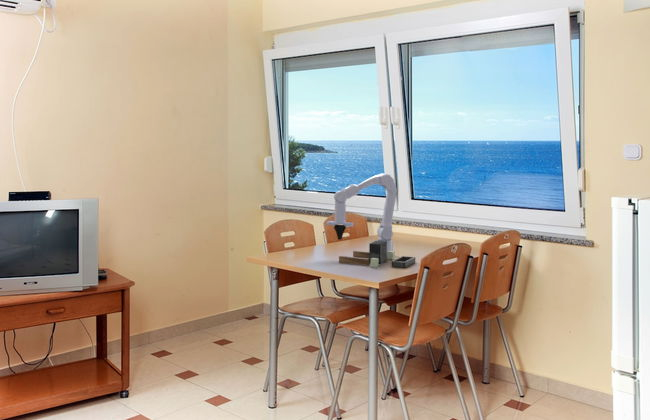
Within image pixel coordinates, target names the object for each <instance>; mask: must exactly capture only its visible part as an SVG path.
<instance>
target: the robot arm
mask: <svg viewBox="0 0 650 420" xmlns="http://www.w3.org/2000/svg"><path fill="white" fill-rule="evenodd" d="M372 185H376V186H377V185H378V186H381V187H383V189H385V191H386V195H385V196H386V197H385V203H384V207H383V214H382V220H381V222H380V224H379V228H378V229H377V232H376V233H377V235H378V238H377V241H387V252H388V251H394V242H393V240H392V237H393V235H394V233H393V224H392V222H393V216H394V211H395V204H396V198H397V193H398V189H397V186H396V183H395V179H394V178H393V176H391V175H390V174H388V173H383V172H381V173H379V174H375V175H374V176H371V177H369V178H368V179H366V180H364V181H362V182H360V183H359V184H355V183H353V184H352V183H350V184H348V186H347V187H345V188H341V189H340V190H337V191H336V192H335V193H334V195H333V199H334V220H327V221H326V225H327V226H333V229H334V230H335V233H336V236H337V240H342V239H343V235H344V232H345V231H346V229H347V227H351V228H353V227H354V222H348V221H346V217H347V216H346V215H347V214H346V210H347V209H346V208H347V206H346V201H347V199H351V198H353V197H354V196H357V195H359V193H360V191H363V190H364V189H366V188H368V187H371V186H372Z"/></svg>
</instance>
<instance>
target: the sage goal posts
mask: <svg viewBox="0 0 650 420" xmlns="http://www.w3.org/2000/svg"><path fill="white" fill-rule="evenodd" d="M395 252H396V251H394V250H393V251H388V252H387V260H390V259H392V260H391V261H393V260H395V259H396V257H395V255H396V253H395ZM379 265H380V264H379V258H371V264H370V267H371V268H378V267H379Z"/></svg>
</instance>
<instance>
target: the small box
mask: <svg viewBox="0 0 650 420" xmlns="http://www.w3.org/2000/svg"><path fill="white" fill-rule="evenodd" d="M368 244H369V246H368V249H369V251H368V252H369V258H368V259H370V265H371V258H379V265H382V264H384V263H386V262H387V260H388V259H387V241H378V240H374V241H372V242H369V243H368Z"/></svg>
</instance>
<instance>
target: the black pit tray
mask: <svg viewBox="0 0 650 420" xmlns="http://www.w3.org/2000/svg"><path fill="white" fill-rule="evenodd" d="M415 264H416V257H415V256H407V255H401V256H400V257H398V258H395V259H393V260H391V264H390V265H391V267H392V268H399V269H401V268H402V269H406V268H408V267H410V266H412V265H415Z"/></svg>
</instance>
